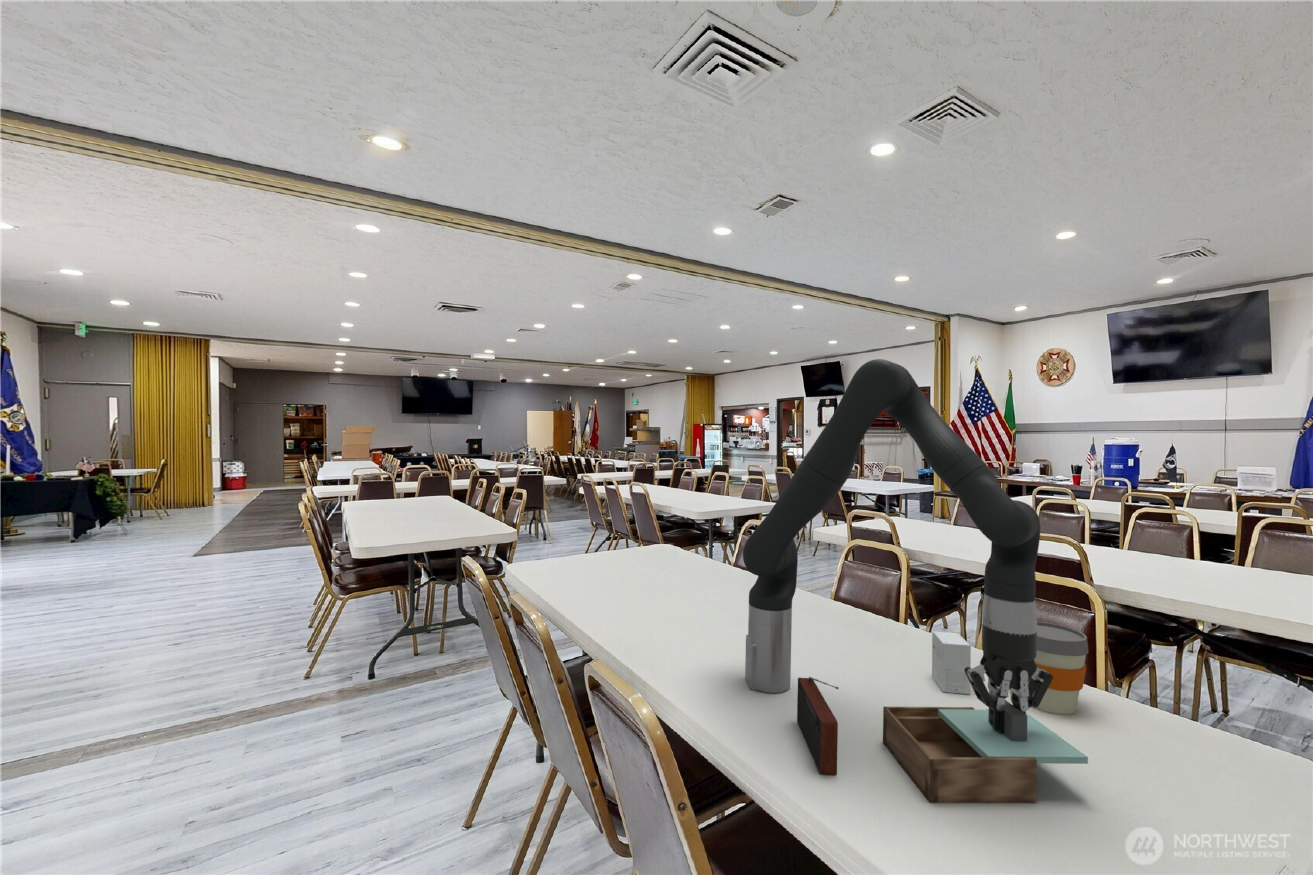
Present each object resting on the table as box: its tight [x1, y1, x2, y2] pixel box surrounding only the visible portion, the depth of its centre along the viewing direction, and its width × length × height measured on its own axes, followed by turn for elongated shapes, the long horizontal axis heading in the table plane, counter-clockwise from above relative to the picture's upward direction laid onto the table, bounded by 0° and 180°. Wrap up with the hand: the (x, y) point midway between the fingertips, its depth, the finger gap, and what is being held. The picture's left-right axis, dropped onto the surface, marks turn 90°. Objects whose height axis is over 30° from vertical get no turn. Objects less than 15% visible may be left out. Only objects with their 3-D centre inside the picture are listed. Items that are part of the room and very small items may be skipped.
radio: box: [796, 676, 839, 776], centre depth 95 cm, size 19×3×15 cm, turn 178°
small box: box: [931, 630, 972, 695], centre depth 122 cm, size 8×6×10 cm
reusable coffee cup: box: [1028, 621, 1089, 716], centre depth 114 cm, size 12×13×15 cm
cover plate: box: [938, 699, 1089, 765], centre depth 90 cm, size 15×14×5 cm
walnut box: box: [882, 706, 1038, 804], centre depth 90 cm, size 16×16×6 cm
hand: (1007, 730), depth 90 cm, fingers closed on cover plate, 2 cm apart
